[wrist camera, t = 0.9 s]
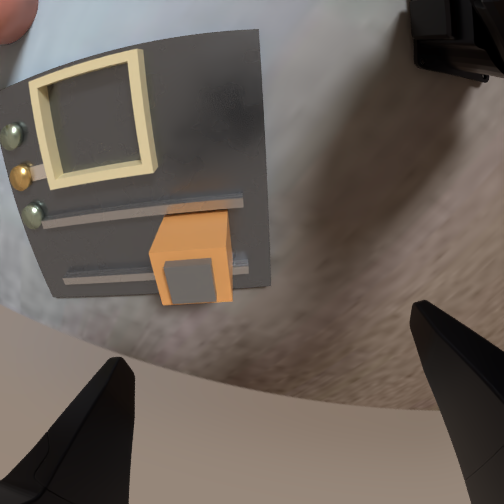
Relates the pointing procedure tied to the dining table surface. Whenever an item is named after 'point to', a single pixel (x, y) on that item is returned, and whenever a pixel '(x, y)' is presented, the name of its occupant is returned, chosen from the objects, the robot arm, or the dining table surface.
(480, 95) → the dining table surface
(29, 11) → the salmon cylinder
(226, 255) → the toggle
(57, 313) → the dining table surface
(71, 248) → the panel
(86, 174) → the socket
